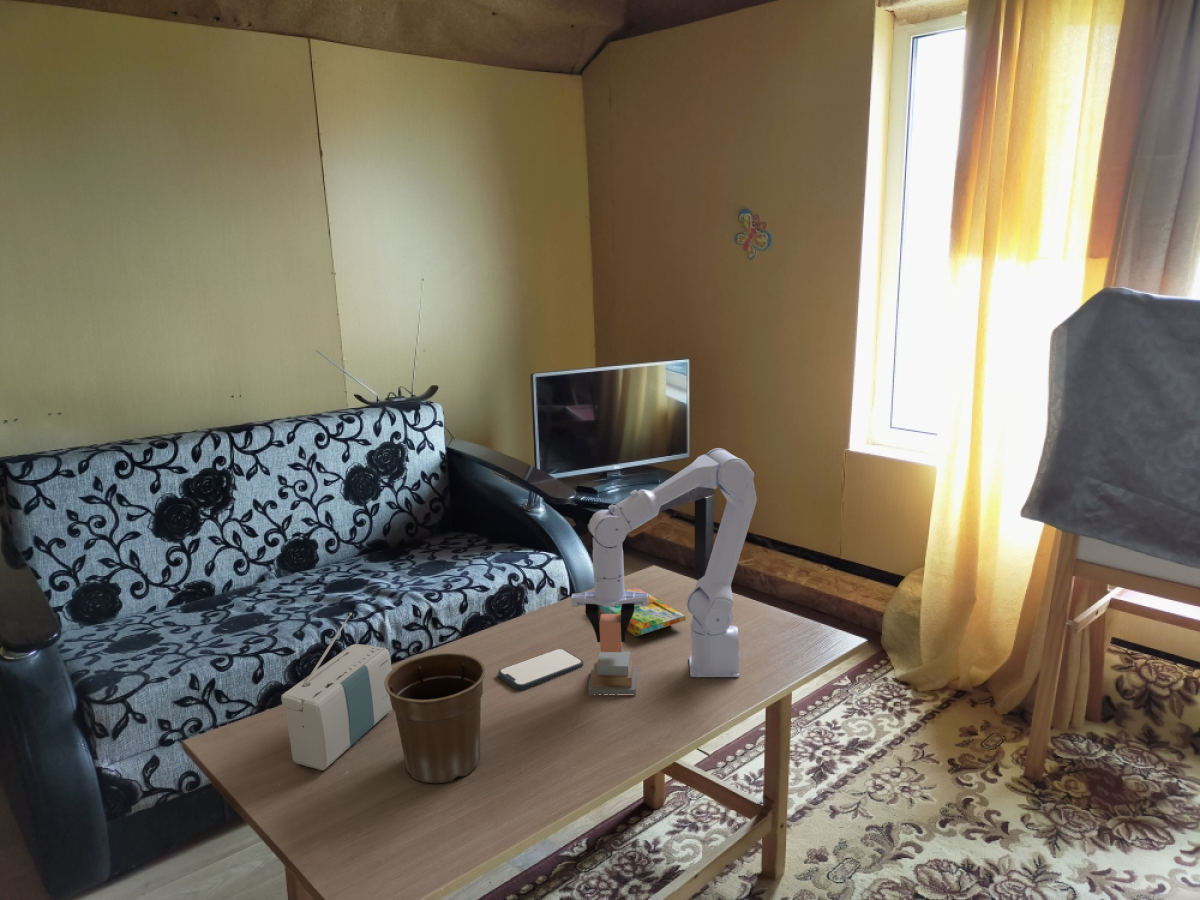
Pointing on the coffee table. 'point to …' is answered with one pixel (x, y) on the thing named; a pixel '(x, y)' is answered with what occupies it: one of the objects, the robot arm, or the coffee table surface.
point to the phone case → (539, 669)
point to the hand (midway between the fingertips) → (611, 639)
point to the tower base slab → (613, 689)
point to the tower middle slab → (611, 678)
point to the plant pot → (438, 714)
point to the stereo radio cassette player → (337, 703)
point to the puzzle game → (647, 615)
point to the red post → (610, 633)
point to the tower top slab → (613, 663)
